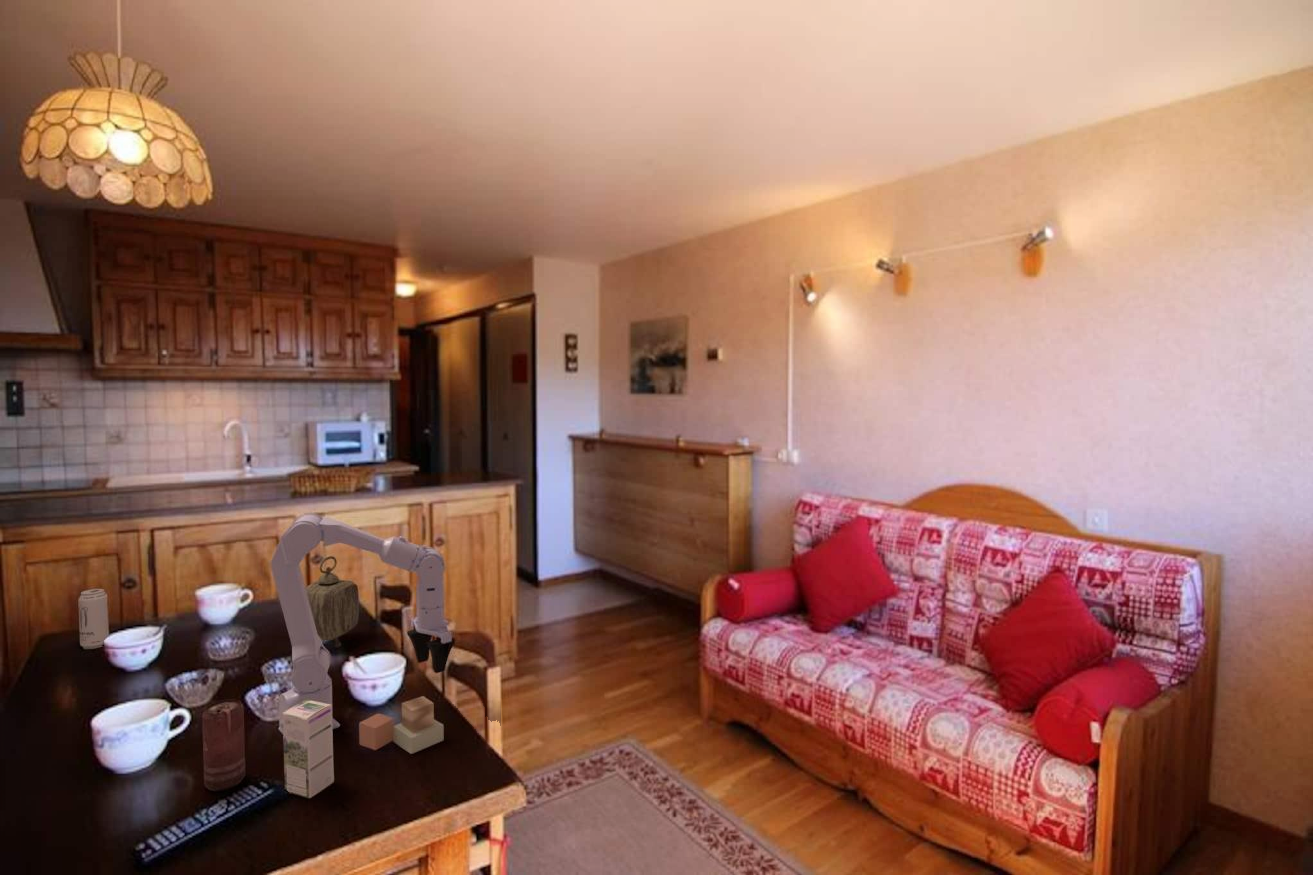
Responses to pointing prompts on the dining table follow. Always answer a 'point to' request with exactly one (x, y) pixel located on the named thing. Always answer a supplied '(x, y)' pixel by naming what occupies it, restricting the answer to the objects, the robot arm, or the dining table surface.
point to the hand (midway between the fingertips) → (431, 666)
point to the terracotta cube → (376, 731)
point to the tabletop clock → (333, 604)
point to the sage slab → (418, 737)
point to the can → (223, 744)
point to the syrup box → (308, 748)
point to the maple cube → (417, 714)
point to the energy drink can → (93, 618)
